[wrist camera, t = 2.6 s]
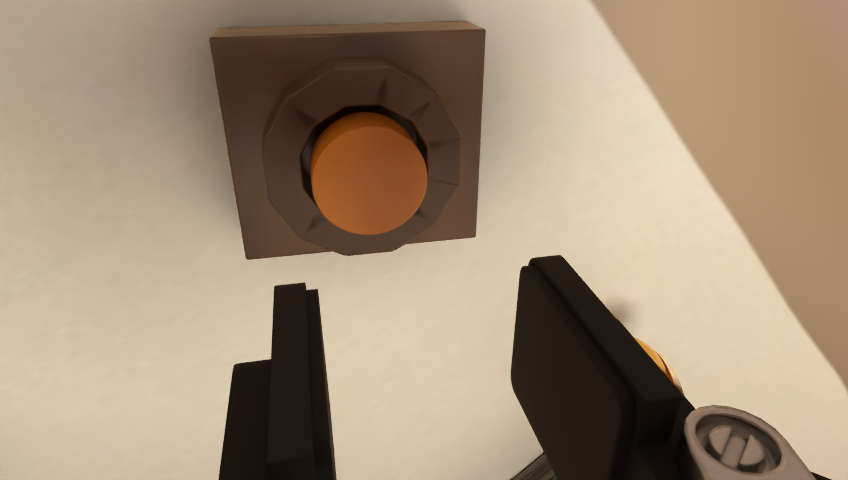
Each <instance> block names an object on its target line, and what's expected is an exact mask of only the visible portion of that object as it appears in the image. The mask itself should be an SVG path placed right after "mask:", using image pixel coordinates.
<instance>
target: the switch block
mask: <svg viewBox="0 0 848 480" xmlns="http://www.w3.org/2000/svg"><path fill="white" fill-rule="evenodd" d="M485 33H486V31H485V29H483V28H481V27H479V26H477V25H474V24H472V23H470V22H468V21H453V22H417V23H381V24H345V25H309V26H273V27H236V28H218V29H216V30H215V32H214V33H213V34H212V35H211V37H210V38H209V42H210V48H211V54H212V60H213V66H214V72H215V78H216V84H217V90H218V96H219V102H220V108H221V114H222V119H223V125H224V131H225V137H226V143H227V149H228V155H229V161H230V167H231V173H232V179H233V185H234V191H235V197H236V202H237V208H238V214H239V220H240V226H241V232H242V238H243V244H244V250H245V256H246V259H248V260H250V259H260V258H270V257H281V256H291V255H301V254H311V253H321V252H331V251H334V252H336V253H339V254H342V255H347V256H351V255H361V254H371V253H381V252H391V251H393V250H396V249H398V248H400V247H401V246H403V245H404V244H412V243H422V242H432V241H442V240H452V239H462V238H472V237H475V236H476V222H477V201H478V180H479V159H480V138H481V117H482V96H483V75H484V54H485ZM358 112H373V113H378V114H382V115H385V116H387V117H389V118H391V119H393V120H395V121H396V122H398V123H399V124H400V125H401V126H402V127H403V128H404V129H405V130H406V131H407V132H408V134H409V135H410V137H411V138H412V140H413V141H414V143H415V145H416V146H417V148H418V150H419V151H420V153H421V155H422V157H423V159H424V162H425V165H426V169H427V188H426V193H425V195H424V198H423V201H422V203H421V204H420V206H419V208H418V209H417V211H416V212H415V213H414V214H413V215H412V217H411V218H409V219H408V220H407V221H406V222H405V223H403V224H402V225H400V226H399V227H397V228H395V229H393V230H390V231H388V232H385V233H381V234H375V235H360V234H355V233H351V232H348V231H345V230H343V229H341V228H339V227H337V226H335V225H334V224H332V223H331V222H330V221H329V220H328V219H327V218H326V217H325V216H324V215H323V214H322V212H321V211H320V209H319V208H318V206H317V204H316V202H315V199H314V196H313V191H312V183H311V172H310V158H311V153H312V149H313V146H314V144H315V142H316V140H317V138H318V137H319V135H320V134H321V133H322V131H323V130H324V129H325V128H326V127H327V126H328V125H330V124H331V123H332V122H334V121H335V120H337V119H339V118H341V117H343V116H345V115H348V114H352V113H358Z"/></svg>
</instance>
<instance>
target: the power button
mask: <svg viewBox="0 0 848 480" xmlns="http://www.w3.org/2000/svg"><path fill="white" fill-rule="evenodd" d="M310 172H311V183H312V191H313V196H314V199H315V202H316V204H317V206H318V208H319V209H320V211H321V212H322V214H323V215H324V216H325V217H326V218H327V219H328V220H329V221H330V222H331V223H332V224H334V225H335V226H337V227H339V228H341V229H343V230H345V231H348V232H351V233H355V234H360V235H375V234H381V233H385V232H388V231H390V230H393V229H395V228H397V227H399V226H400V225H402V224H403V223H405V222H406V221H407V220H408V219H409V218H411V217H412V215H413V214H414V213H415V212H416V211H417V209H418V208H419V206H420V204H421V203H422V201H423V198H424V195H425V193H426V188H427V169H426V165H425V162H424V159H423V157H422V155H421V153H420V151H419V150H418V148H417V146H416V145H415V143H414V141H413V140H412V138H411V137H410V135H409V134H408V132H407V131H406V130H405V129H404V128H403V127H402V126H401V125H400V124H399V123H398V122H396V121H395V120H393V119H391V118H389V117H387V116H385V115H382V114H378V113H373V112H358V113H352V114H348V115H345V116H343V117H341V118H339V119H337V120H335V121H334V122H332V123H331V124H330V125H328V126H327V127H326V128H325V129H324V130H323V131H322V133H321V134H320V135H319V137H318V138H317V140H316V142H315V144H314V146H313V149H312V153H311V158H310Z"/></svg>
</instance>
